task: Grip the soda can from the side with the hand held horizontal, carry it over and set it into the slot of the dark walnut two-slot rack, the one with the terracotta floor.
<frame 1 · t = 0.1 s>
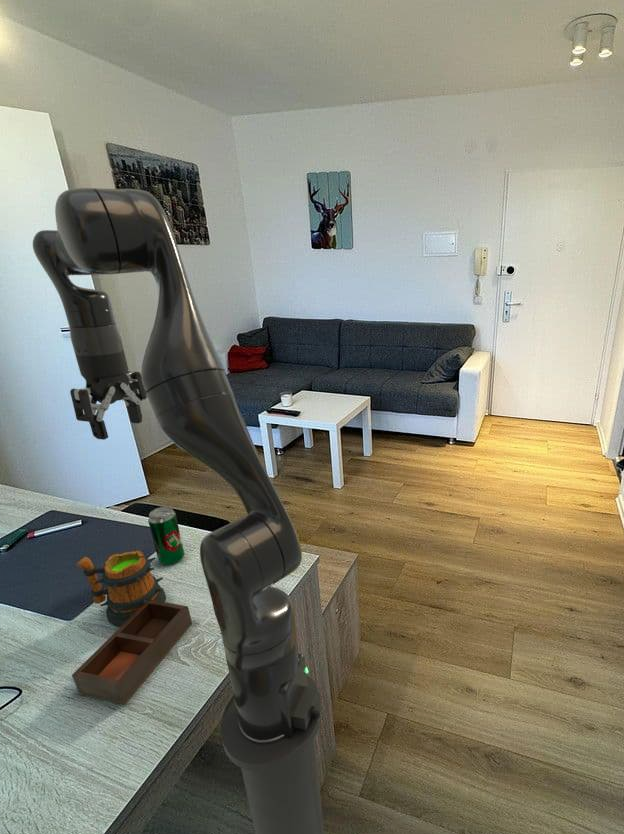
hand: (120, 430, 86), 29 cm above the table, tool pointing down, fingers open, 8 cm apart
soda can: (172, 559, 94), on the table
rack: (140, 655, 72), on the table
mug: (129, 607, 81), on the table, touching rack
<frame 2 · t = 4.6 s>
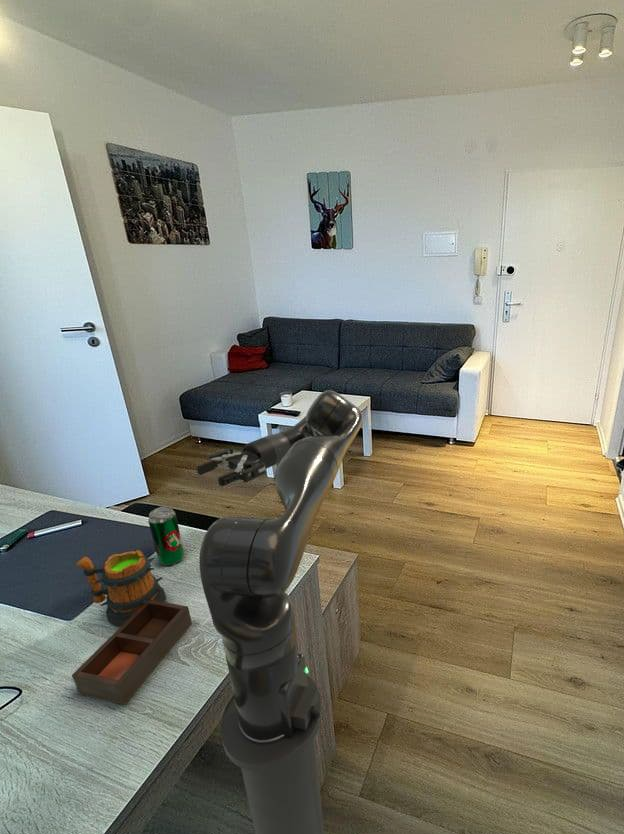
hand: (208, 476, 96), 16 cm above the table, tool horizontal, fingers open, 8 cm apart
nothing on the table moved.
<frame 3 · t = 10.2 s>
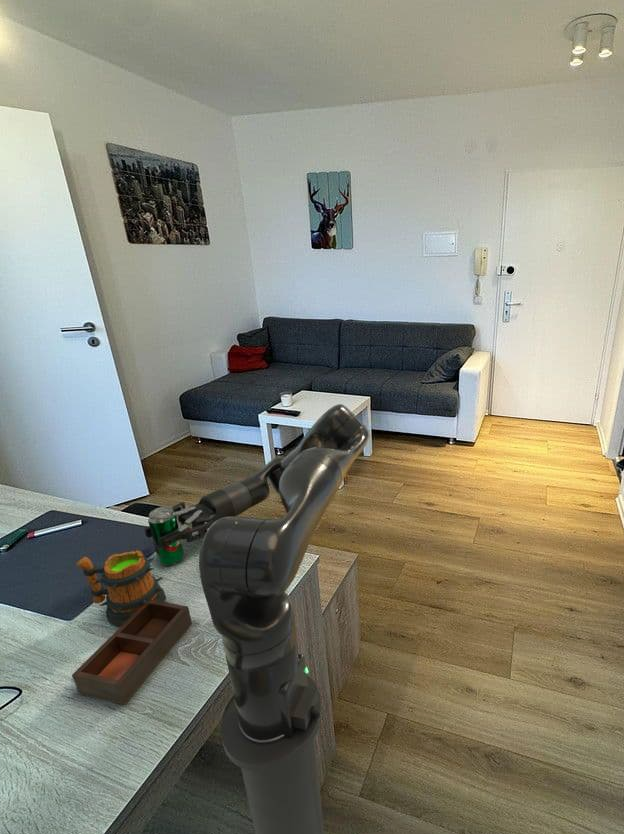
hand: (152, 538, 89), 7 cm above the table, tool horizontal, fingers closed on soda can, 5 cm apart
soda can: (172, 559, 94), on the table, touching gripper
everything else where it was.
when the fingers open (8 cm above the table, at t = 21.2 s): soda can stays where it is, resting on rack.
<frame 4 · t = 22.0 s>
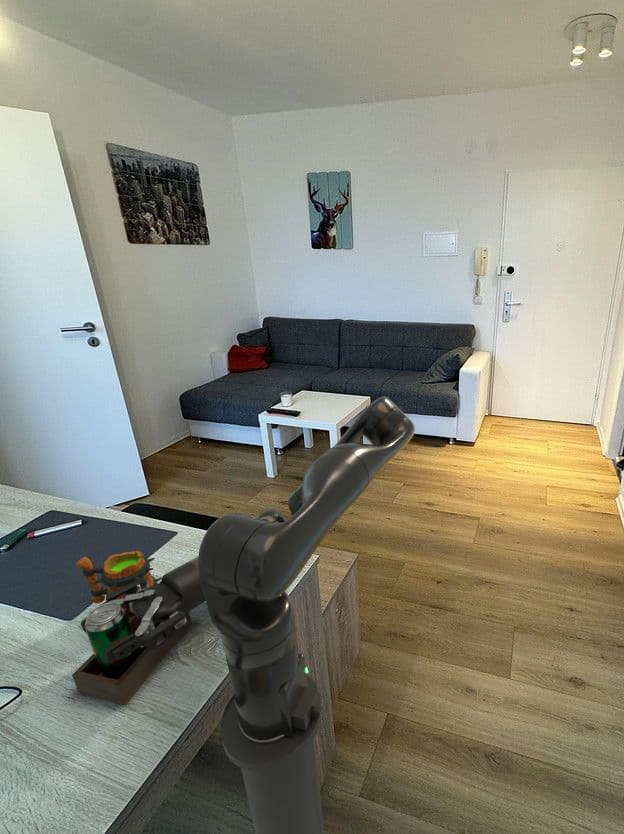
hand: (94, 641, 63), 9 cm above the table, tool horizontal, fingers open, 8 cm apart
soda can: (123, 671, 68), point 1 cm above the table, touching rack
everything else where it was.
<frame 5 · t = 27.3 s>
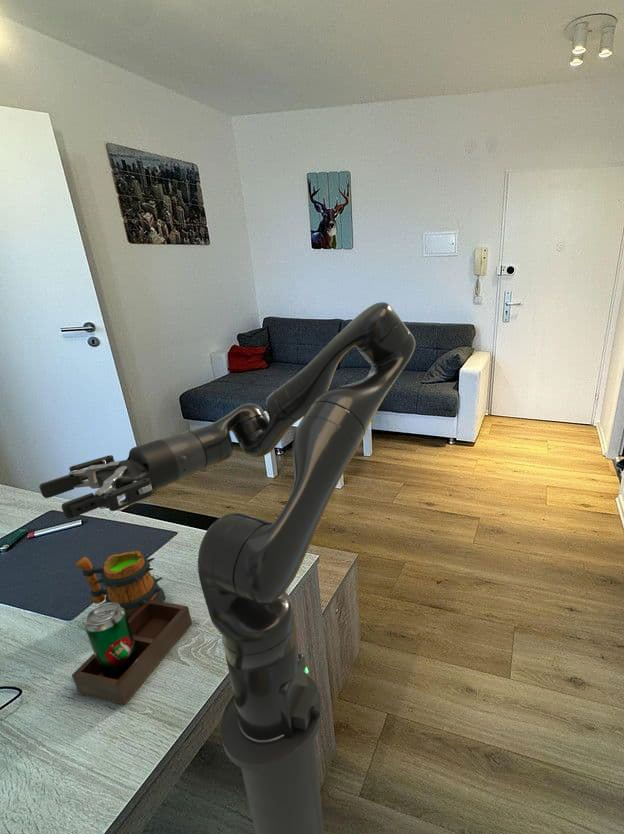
hand: (52, 501, 60), 30 cm above the table, tool horizontal, fingers open, 8 cm apart
nothing on the table moved.
at the end: soda can 0.2 cm from the target spot in the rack, point 0.6 cm above the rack's base; soda can tilted 0°; the gripper is holding nothing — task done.
